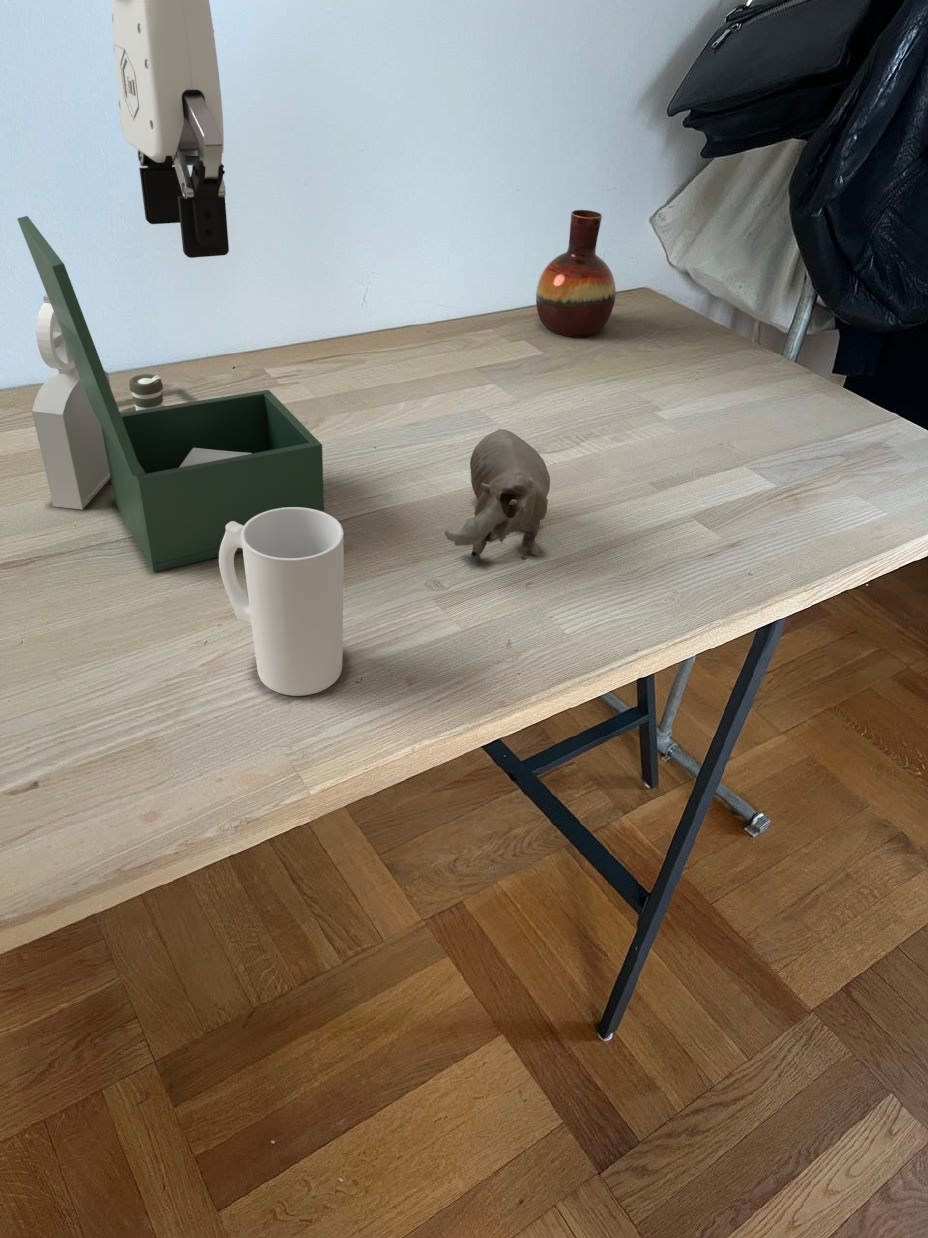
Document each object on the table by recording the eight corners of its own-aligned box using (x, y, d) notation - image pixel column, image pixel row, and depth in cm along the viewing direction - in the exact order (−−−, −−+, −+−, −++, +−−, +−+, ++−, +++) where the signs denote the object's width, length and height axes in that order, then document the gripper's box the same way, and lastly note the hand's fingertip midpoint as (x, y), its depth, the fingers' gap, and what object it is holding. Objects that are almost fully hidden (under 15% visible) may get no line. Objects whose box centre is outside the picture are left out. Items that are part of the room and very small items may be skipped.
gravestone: (123, 462, 93) (92, 279, 82) (82, 509, 85) (41, 315, 74) (97, 459, 93) (62, 276, 82) (53, 506, 85) (8, 311, 74)
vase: (560, 345, 127) (575, 226, 118) (518, 318, 134) (529, 205, 125) (625, 336, 131) (644, 221, 122) (580, 311, 139) (596, 201, 130)
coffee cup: (74, 414, 100) (65, 371, 97) (177, 390, 107) (171, 349, 104) (123, 457, 93) (115, 412, 91) (229, 429, 100) (225, 385, 97)
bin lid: (27, 215, 70) (16, 217, 70) (63, 263, 62) (51, 266, 61) (102, 409, 81) (93, 412, 81) (142, 472, 73) (132, 476, 72)
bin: (274, 471, 93) (268, 389, 88) (325, 532, 85) (322, 444, 80) (115, 503, 86) (99, 416, 81) (153, 572, 78) (138, 479, 73)
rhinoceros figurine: (560, 472, 92) (555, 389, 77) (546, 603, 87) (538, 540, 73) (482, 468, 93) (463, 385, 79) (465, 596, 89) (442, 533, 75)
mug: (363, 660, 70) (363, 525, 63) (311, 711, 66) (304, 571, 58) (257, 617, 74) (246, 484, 67) (200, 662, 69) (181, 524, 62)
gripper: (68, -48, 65) (107, 213, 75) (135, -34, 53) (170, 274, 63) (176, -41, 68) (198, 208, 78) (261, -26, 56) (275, 265, 66)
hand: (186, 237), depth 70 cm, fingers open, 9 cm apart
